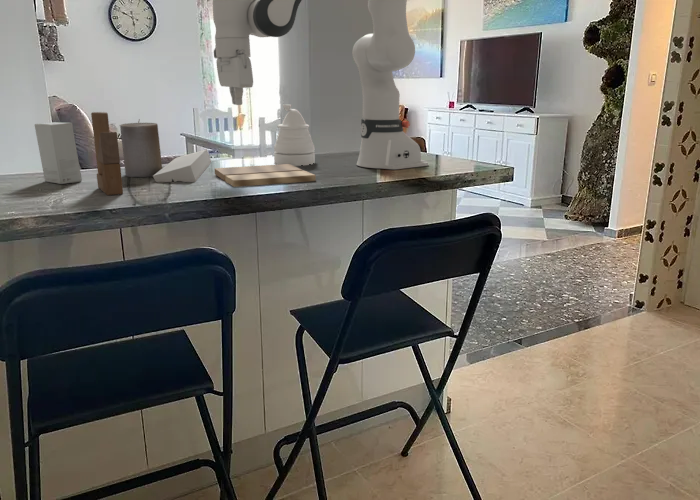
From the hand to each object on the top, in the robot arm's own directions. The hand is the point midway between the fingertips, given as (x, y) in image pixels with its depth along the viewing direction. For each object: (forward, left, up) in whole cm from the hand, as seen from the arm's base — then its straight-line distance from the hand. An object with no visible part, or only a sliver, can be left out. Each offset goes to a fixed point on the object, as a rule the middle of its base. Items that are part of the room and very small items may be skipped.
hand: (237, 104), depth 156 cm
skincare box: (+45, -6, -19) cm, 49 cm away
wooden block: (+35, +12, -19) cm, 41 cm away
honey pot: (-22, -15, -19) cm, 33 cm away
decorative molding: (+13, -11, -20) cm, 26 cm away
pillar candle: (+24, -10, -19) cm, 33 cm away
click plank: (-4, +3, -19) cm, 19 cm away
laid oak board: (-4, +14, -19) cm, 24 cm away
